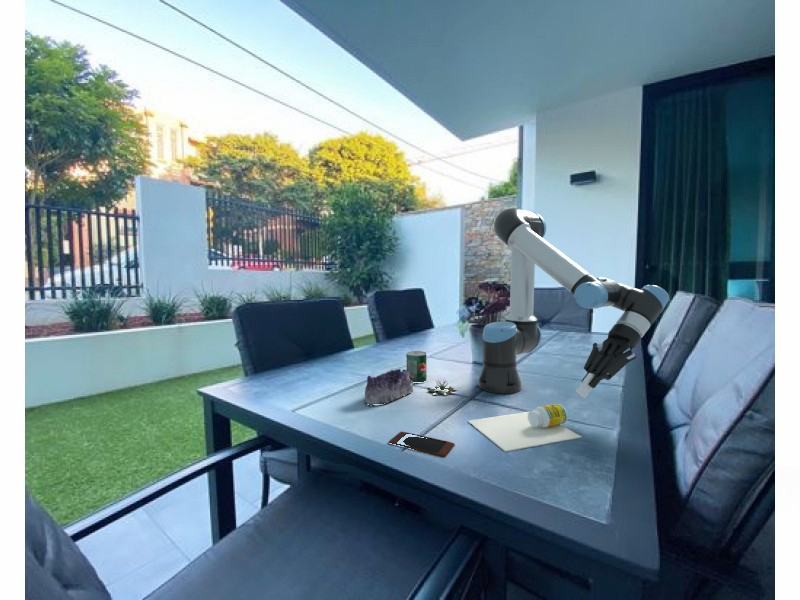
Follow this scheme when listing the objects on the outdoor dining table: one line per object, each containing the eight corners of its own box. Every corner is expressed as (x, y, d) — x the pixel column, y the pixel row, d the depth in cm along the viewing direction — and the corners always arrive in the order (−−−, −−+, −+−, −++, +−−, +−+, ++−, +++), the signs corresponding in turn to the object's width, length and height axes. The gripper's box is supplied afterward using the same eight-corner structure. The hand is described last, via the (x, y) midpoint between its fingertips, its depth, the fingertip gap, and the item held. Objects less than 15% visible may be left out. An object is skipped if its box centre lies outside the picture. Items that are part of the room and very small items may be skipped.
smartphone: (400, 430, 92) (455, 442, 85) (400, 433, 92) (455, 446, 85) (387, 441, 86) (444, 455, 79) (387, 445, 86) (444, 459, 79)
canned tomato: (427, 383, 134) (427, 355, 133) (406, 384, 134) (406, 355, 133) (426, 377, 142) (425, 350, 141) (406, 378, 142) (406, 351, 141)
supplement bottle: (550, 412, 99) (522, 417, 96) (558, 399, 96) (530, 403, 93) (563, 428, 95) (535, 433, 92) (571, 414, 92) (542, 420, 89)
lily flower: (453, 386, 132) (453, 374, 131) (463, 397, 120) (463, 384, 120) (421, 388, 130) (421, 376, 130) (429, 399, 118) (429, 386, 118)
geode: (385, 411, 108) (380, 379, 107) (357, 408, 114) (352, 378, 114) (420, 390, 124) (416, 362, 124) (394, 389, 131) (390, 362, 131)
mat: (505, 451, 81) (505, 450, 81) (467, 421, 98) (467, 420, 98) (581, 437, 88) (581, 436, 88) (533, 411, 105) (533, 410, 105)
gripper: (657, 343, 96) (607, 410, 93) (615, 336, 109) (570, 395, 105) (642, 325, 94) (591, 393, 91) (602, 319, 107) (556, 379, 103)
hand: (580, 394), depth 98 cm, fingers closed
